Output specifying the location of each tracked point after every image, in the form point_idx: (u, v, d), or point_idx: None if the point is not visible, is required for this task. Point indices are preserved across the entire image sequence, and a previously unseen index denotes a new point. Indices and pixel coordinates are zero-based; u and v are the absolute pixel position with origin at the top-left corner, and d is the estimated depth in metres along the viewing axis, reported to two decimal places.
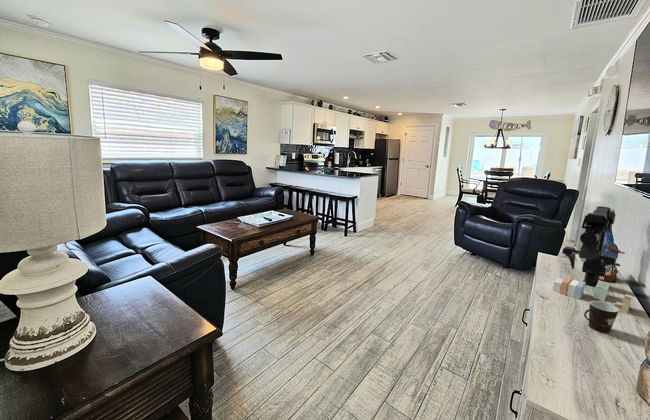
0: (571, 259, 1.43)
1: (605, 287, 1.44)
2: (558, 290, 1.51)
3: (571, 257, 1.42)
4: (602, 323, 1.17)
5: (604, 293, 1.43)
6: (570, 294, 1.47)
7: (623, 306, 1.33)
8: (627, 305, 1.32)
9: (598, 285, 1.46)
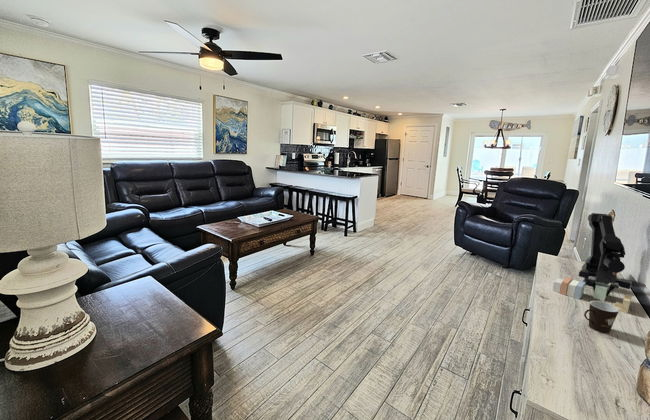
0: (593, 283, 1.48)
1: (605, 287, 1.44)
2: (558, 290, 1.51)
3: (593, 282, 1.47)
4: (602, 323, 1.17)
5: (604, 293, 1.43)
6: (570, 294, 1.47)
7: (623, 306, 1.33)
8: (627, 305, 1.32)
9: (598, 285, 1.46)
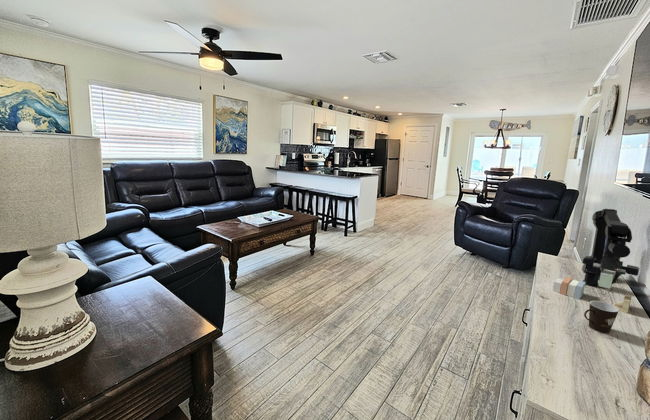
0: (598, 271, 1.40)
1: (611, 274, 1.36)
2: (558, 290, 1.51)
3: (598, 269, 1.39)
4: (602, 323, 1.17)
5: (610, 280, 1.35)
6: (570, 294, 1.47)
7: (623, 306, 1.33)
8: (627, 305, 1.32)
9: (603, 272, 1.38)
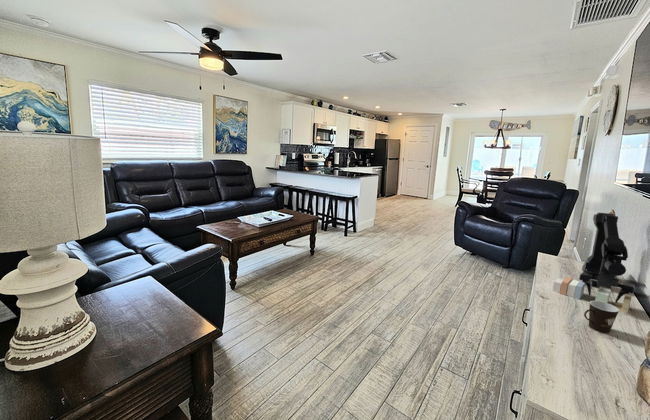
0: (588, 285, 1.43)
1: (607, 293, 1.38)
2: (558, 290, 1.51)
3: (588, 284, 1.43)
4: (602, 323, 1.17)
5: (606, 299, 1.37)
6: (570, 294, 1.47)
7: (623, 306, 1.33)
8: (627, 305, 1.32)
9: (599, 291, 1.40)
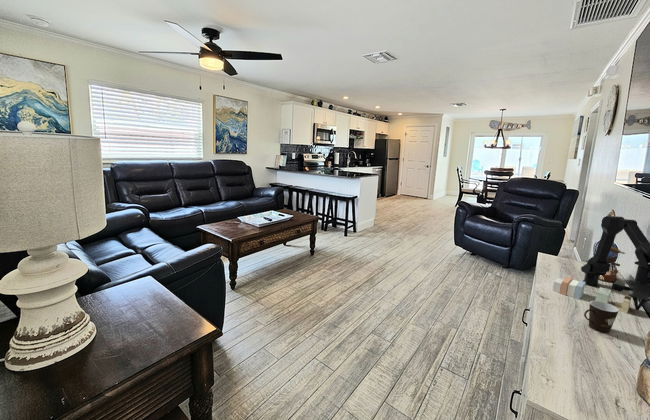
0: (635, 299, 1.32)
1: (607, 293, 1.38)
2: (558, 290, 1.51)
3: (635, 297, 1.31)
4: (602, 323, 1.17)
5: (606, 299, 1.37)
6: (570, 294, 1.47)
7: (623, 306, 1.33)
8: (627, 305, 1.32)
9: (599, 291, 1.40)
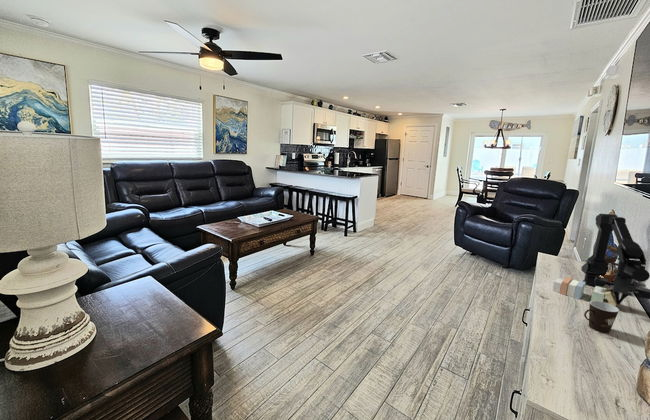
0: (616, 294, 1.36)
1: (602, 292, 1.39)
2: (558, 290, 1.51)
3: (617, 292, 1.35)
4: (602, 323, 1.17)
5: (602, 298, 1.38)
6: (570, 294, 1.47)
7: (608, 300, 1.36)
8: (611, 297, 1.36)
9: (595, 290, 1.41)
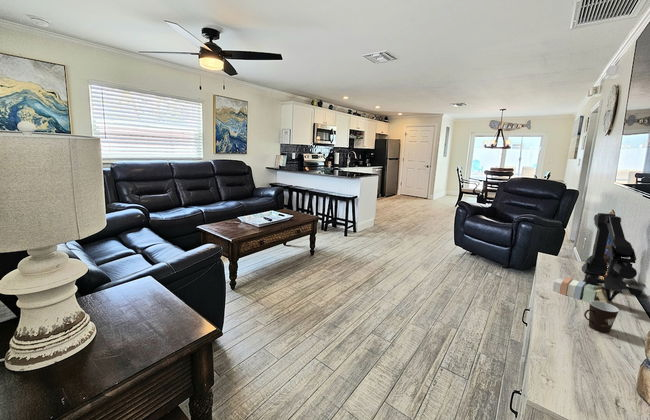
0: (607, 292, 1.38)
1: (594, 289, 1.42)
2: (558, 290, 1.51)
3: (608, 290, 1.37)
4: (602, 323, 1.17)
5: (593, 296, 1.40)
6: (570, 294, 1.47)
7: (599, 297, 1.38)
8: (602, 295, 1.38)
9: (587, 287, 1.44)
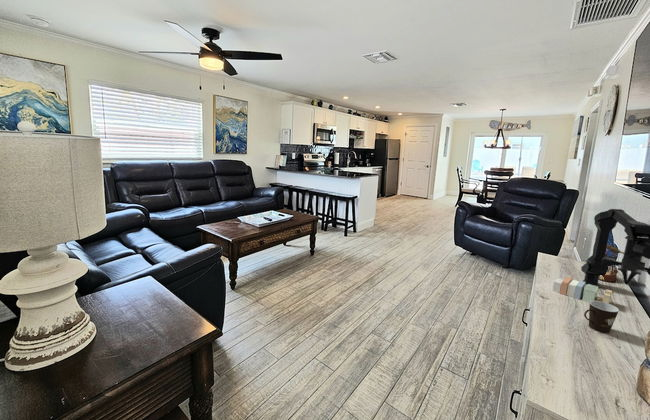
0: (624, 273, 1.33)
1: (594, 289, 1.42)
2: (558, 290, 1.51)
3: (624, 271, 1.32)
4: (602, 323, 1.17)
5: (593, 296, 1.40)
6: (570, 294, 1.47)
7: (604, 301, 1.37)
8: (607, 300, 1.36)
9: (587, 287, 1.44)
